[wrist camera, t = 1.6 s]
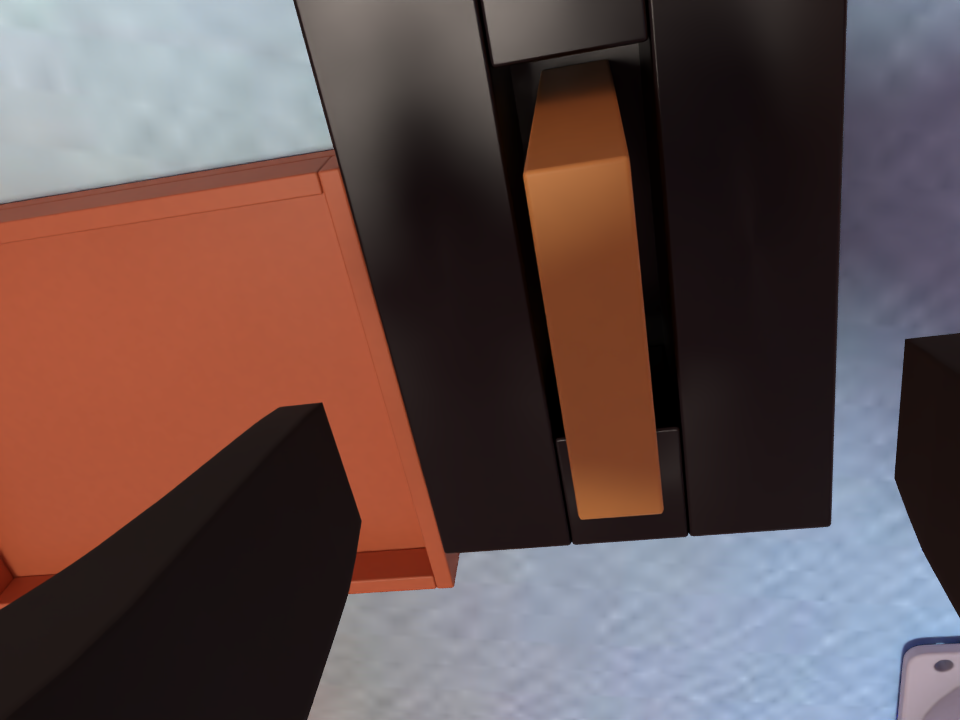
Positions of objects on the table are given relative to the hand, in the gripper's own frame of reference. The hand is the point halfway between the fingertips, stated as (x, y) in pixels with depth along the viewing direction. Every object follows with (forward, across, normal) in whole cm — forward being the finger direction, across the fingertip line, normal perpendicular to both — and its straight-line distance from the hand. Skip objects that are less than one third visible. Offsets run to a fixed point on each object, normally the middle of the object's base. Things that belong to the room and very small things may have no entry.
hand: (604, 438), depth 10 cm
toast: (+9, 0, 0) cm, 9 cm away
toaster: (+9, 0, 0) cm, 9 cm away
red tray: (+9, +12, +4) cm, 16 cm away
